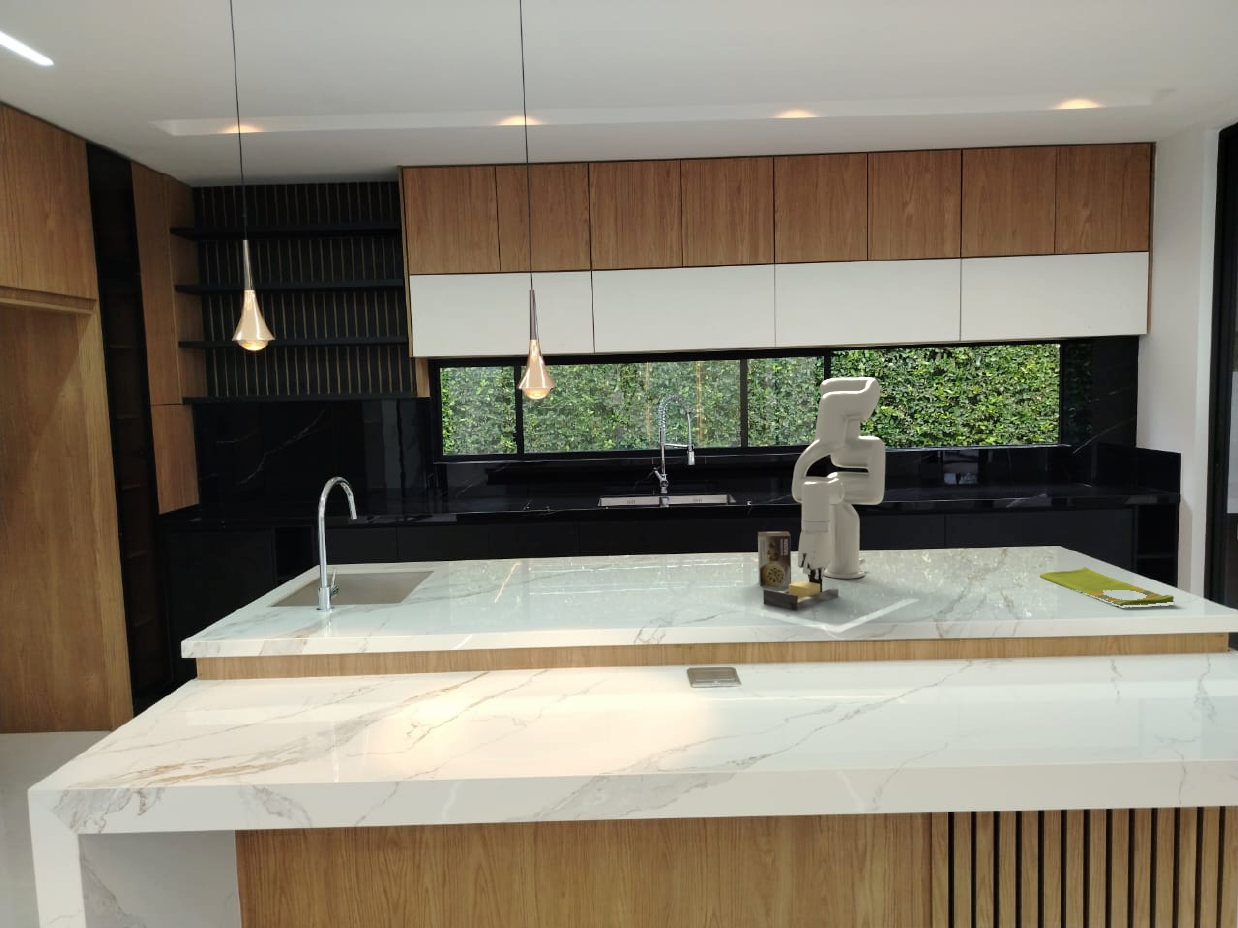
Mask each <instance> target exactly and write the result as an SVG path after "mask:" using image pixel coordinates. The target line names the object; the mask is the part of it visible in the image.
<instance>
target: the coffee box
mask: <svg viewBox="0 0 1238 928" xmlns="http://www.w3.org/2000/svg"><path fill="white" fill-rule="evenodd" d="M791 538H792V537H791V534H790V532H789V531H757V544H758V545H757V549H758V551H757V552H758V553H757V555H758V557H757V559H758V560H757V561H758V562H757V563H758V566H757V567H758V584H759V587H789V584H792V550H791V548H792V547H791V546H792V545H791V541H792V540H791Z"/></svg>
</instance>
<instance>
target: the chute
mask: <svg viewBox="0 0 1238 928" xmlns="http://www.w3.org/2000/svg"><path fill="white" fill-rule="evenodd" d="M836 597H839V588H836V587H832V588H830V589H826V590H822V592H820V593H817V594H814V595H811V596H808V597H803V598H800V599H798V595H793V594H789V588H786V589H783V590H779V591H778V590H773V589H767V588H764V589H763V605H767V606H771V607H775V608H781V609H785V610H789V611H793V612H798V611H800V610H803V609H806V608H809V607H812V606H814V605H817V604H819V603H822V602H825V601H827V600H831V599H834V598H836Z"/></svg>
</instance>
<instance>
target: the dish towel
mask: <svg viewBox="0 0 1238 928" xmlns="http://www.w3.org/2000/svg"><path fill="white" fill-rule="evenodd" d="M1039 578H1041V579H1043V578H1044V579H1043V580H1046V581H1049V582H1050V583H1054V584H1056V583H1057V584H1056V585H1059V586H1062V587H1064V588H1067V589H1069V588H1070V589H1069V590H1072V589H1073V590H1072V591H1074V590H1078V591H1081V592H1084V593H1087V594H1089V595H1092V596H1095V597H1098V598H1101V599H1104V600H1106V599H1108V600H1106V601H1108V602H1111V601H1113V602H1112V603H1114V604H1117V605H1120V606H1123V605H1140V604H1141V605H1148V604H1156V603H1167V602H1174V603H1175V601H1174V599H1175V598H1174V596H1173V595H1170V594H1166V595H1162V594H1160V593H1156V592H1153V591H1150V590H1147V589H1144V588H1141V587H1139V586H1136V585H1133V584H1131V583H1127V582H1123V581H1120V580H1118V579H1115V578H1112V577H1108V576H1106V575H1104V574H1102V573H1099V572H1095V571H1093V570H1091V569H1090V568H1087V567H1086V566H1084V567H1082V568H1081V569H1072V570H1068V571H1066V570H1065V571H1063V570H1062V571H1050V572H1045V573H1041V574H1040V575H1039ZM1103 590H1105V591H1106V590H1111V591H1112V590H1130V591H1136V592H1139V593H1143V594H1145V595H1147V596H1146V598H1143V599H1137V600H1122V599H1121V600H1120V599H1116V598H1112V597H1109V596H1107V595H1104V594H1103V593H1104V592H1103Z"/></svg>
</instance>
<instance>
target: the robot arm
mask: <svg viewBox="0 0 1238 928" xmlns="http://www.w3.org/2000/svg"><path fill="white" fill-rule="evenodd" d="M819 387H820V388H819V392H820V396H821V397H820V400H819V404H818V409H817V410H818V411H817V419H816V426H815V431H814V432H815V434H814V438H813V439H814V440H813V442H812V443H811V444H810V445H809V446H808V447H806V449H804V450H803V452H801V454H800V456H799V457H798V459H797V461H796V463H795V466H794V470H793V476H792V477H793V478H792V484H791V494H792V497H793V499H794V500H795V501H796V502H797V503H800V504H801V532H800V535H799V540H798V553H797V566H798V567H799V569H800V568H802V574H804V575H807V579H808V582H812V583H818V584H820V592H823V579H824V576H825V577H827V578H828V577H829V578H832V579H833V578H834V579H844V580H846V579H847V580H850V579H858V578H861V577H864V576H865V570H863V569H861V568H860V566H861V565H864V564H865V563H866V559H865V558H864V557H860V516H859V514H858V511H856V509H855V508H854V506H853V505H870V506H871V505H872V506H873V505H874V506H875V505H879V504H881V502H882V501H883V499H884V496H885V482H886V480H885V479H886V476H885V475H886V448H885V443H884V441H883V440H882V438H879V437H877V436H865V435H864V436H863V435H862V436H861V422H865V421H868V419H870V418H871V416H872V414H873V412H874V410H875V408H876V407H877V404H878V403H879V401H880V397H881V396H880V395H881V387H880V382H878V380H877V379H875V378H874V377H834V378H833V377H832V378H829V379H826V380H823V381H822V382H821V384H820V386H819ZM829 455H830V460H831V463H832V464H833V465H834V466H836V467H840V468H848V469H849V468H851V469H852V468H853V469H854V468H855V469H857V468H858V469H866V470H867V471H868V472H855V471H854V472H853V471H836V472H831V473H830V474H828V475H827V476H825V477H823V476H807V472H808V470H809V468H810V467H811V466H812V465H813V464H814V463H815V462H817V461H819V460H820V459H822V458H824V457H827V456H829Z"/></svg>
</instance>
